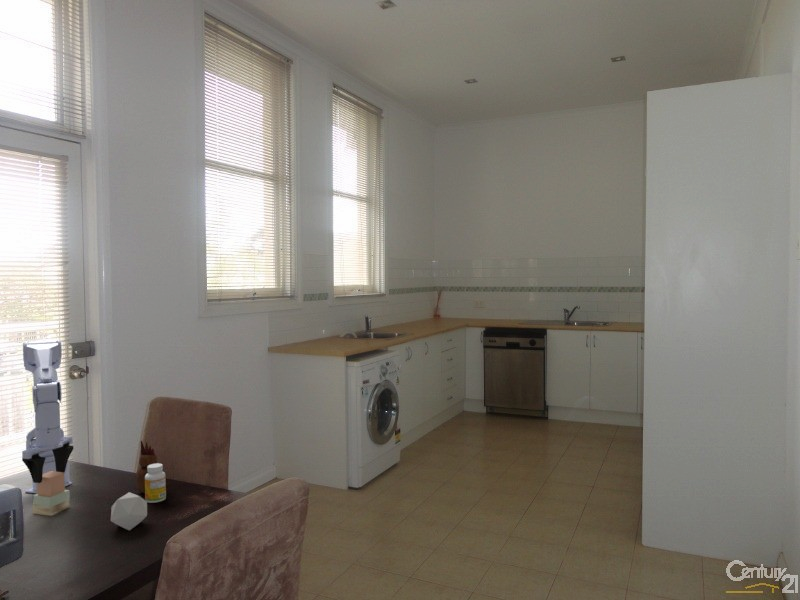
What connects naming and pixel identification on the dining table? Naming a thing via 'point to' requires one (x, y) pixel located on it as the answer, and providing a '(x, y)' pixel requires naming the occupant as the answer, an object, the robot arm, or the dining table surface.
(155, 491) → the supplement bottle
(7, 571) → the dining table surface
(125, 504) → the die
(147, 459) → the wooden figurine
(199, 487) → the dining table surface
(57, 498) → the tower top block
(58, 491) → the terracotta block
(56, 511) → the tower base block
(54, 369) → the robot arm
